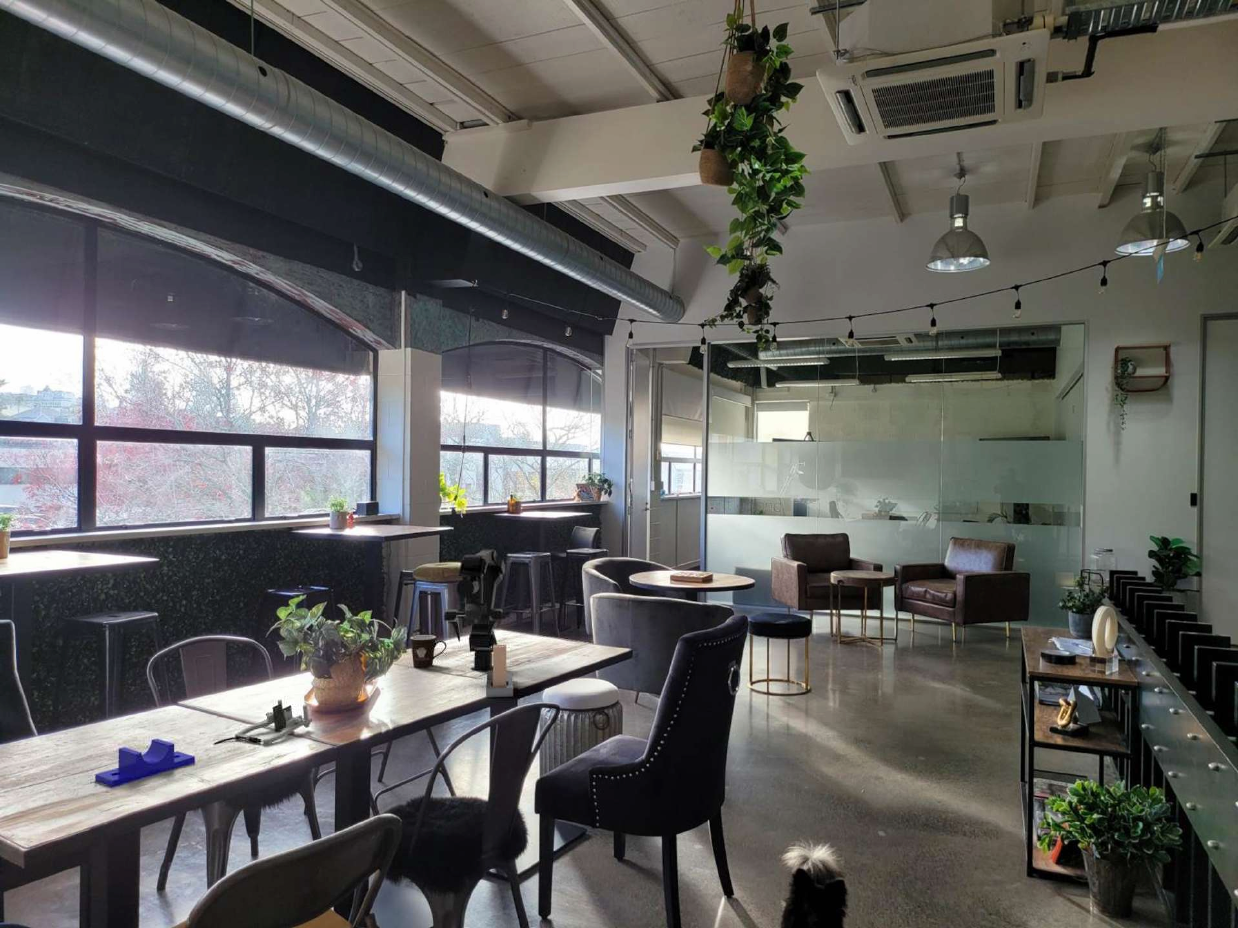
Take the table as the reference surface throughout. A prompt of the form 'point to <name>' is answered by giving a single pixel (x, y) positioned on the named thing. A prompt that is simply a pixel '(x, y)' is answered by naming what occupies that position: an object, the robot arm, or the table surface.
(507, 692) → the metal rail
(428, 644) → the coffee mug
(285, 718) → the bike brake
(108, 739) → the table surface
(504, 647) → the terracotta peg
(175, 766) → the mounting bracket
